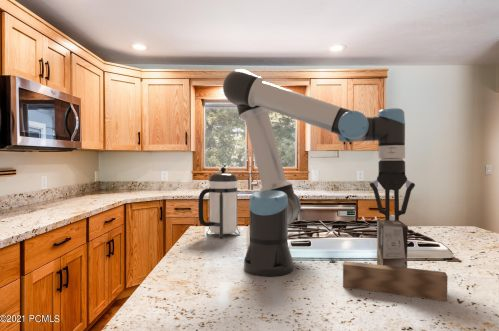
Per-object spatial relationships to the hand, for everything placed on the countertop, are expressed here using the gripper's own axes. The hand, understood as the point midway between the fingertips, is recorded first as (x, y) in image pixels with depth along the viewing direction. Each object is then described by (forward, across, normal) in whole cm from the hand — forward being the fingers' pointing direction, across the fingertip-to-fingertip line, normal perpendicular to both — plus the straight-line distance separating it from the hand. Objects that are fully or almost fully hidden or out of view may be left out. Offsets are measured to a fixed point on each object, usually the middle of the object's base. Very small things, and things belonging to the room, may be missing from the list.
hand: (392, 236), depth 103 cm
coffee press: (+9, -69, +20) cm, 72 cm away
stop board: (+10, -1, -19) cm, 21 cm away
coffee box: (+10, -1, -10) cm, 15 cm away
